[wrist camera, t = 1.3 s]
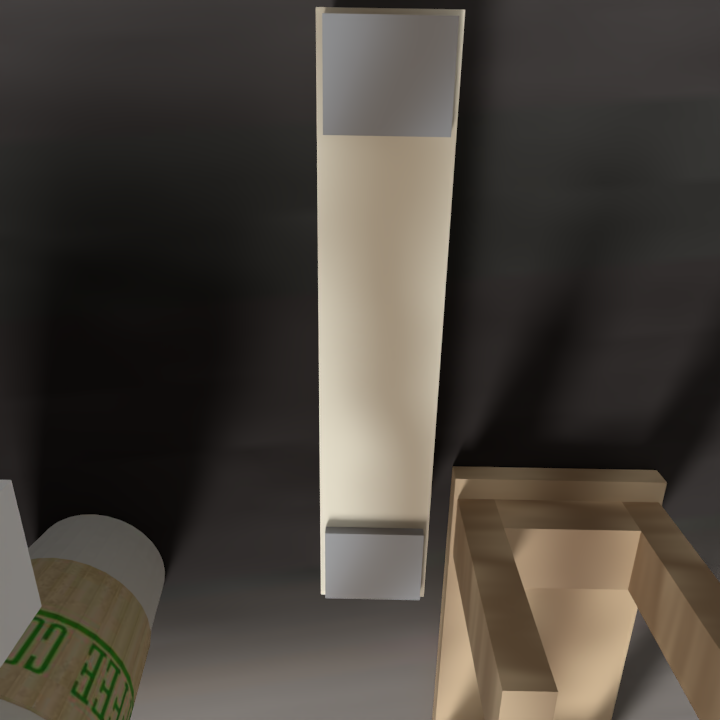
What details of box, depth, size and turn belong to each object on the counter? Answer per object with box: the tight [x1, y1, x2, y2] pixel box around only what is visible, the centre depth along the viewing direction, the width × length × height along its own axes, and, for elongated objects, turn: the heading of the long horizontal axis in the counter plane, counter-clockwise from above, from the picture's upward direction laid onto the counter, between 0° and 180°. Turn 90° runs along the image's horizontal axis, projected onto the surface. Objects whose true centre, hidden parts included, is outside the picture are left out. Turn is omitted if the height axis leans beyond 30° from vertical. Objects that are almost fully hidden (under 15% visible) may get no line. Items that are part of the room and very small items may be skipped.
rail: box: [316, 7, 465, 600], centre depth 22 cm, size 4×20×5 cm, turn 179°
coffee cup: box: [0, 514, 165, 720], centre depth 22 cm, size 10×10×15 cm
